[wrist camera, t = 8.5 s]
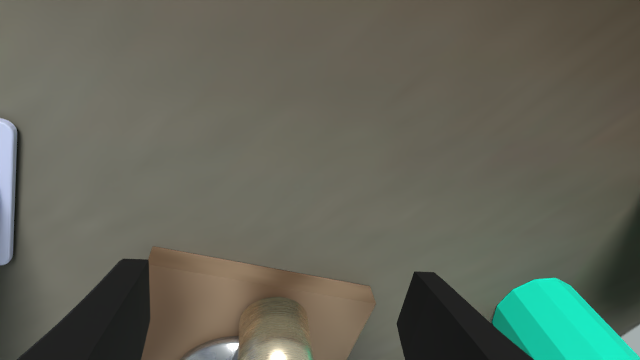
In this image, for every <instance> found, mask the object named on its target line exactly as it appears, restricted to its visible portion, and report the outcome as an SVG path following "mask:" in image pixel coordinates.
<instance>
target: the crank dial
mask: <svg viewBox="0 0 640 360" xmlns="http://www.w3.org/2000/svg"><path fill="white" fill-rule="evenodd" d="M180 360H314V358H313V351H312V344H311V337H310V330H309V323H308V316H307V313H306V310H305V309H304V308H303V307H302V305H300V304H299V303H298V302H296V301H294V300H292V299H289V298H284V297H269V298H264V299H261V300H258V301H256V302H254V303H253V304H251V305H250V306H248V307H247V308H246V309H245V311H244V312H243V313H242V315H241V318H240V322H239V336H230V337H223V338H218V339H214V340H211V341H208V342H205V343H203V344H201V345H198V346H197V347H195V348H193V349H191V350H190V351H189V352H187V353H186V354H185V355H184V356H183V357H182V358H181V359H180Z"/></svg>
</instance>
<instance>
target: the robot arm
mask: <svg viewBox="0 0 640 360" xmlns="http://www.w3.org/2000/svg"><path fill="white" fill-rule="evenodd" d="M16 153H17V129H16V127H15V126H14V124H12V123H11V122H10V121H8V120H5V119H1V118H0V265H5V264H7V263H8V262H9V261H10V260H11V259H12V257H13V238H14V210H15V182H16ZM149 323H150V286H149V260H141V259H122V260H121V261H119V262H118V263H117V264H116V265H115V266H114V268H113V269H112V270H111V271H110V272H109V273H108V274H107V275H106V276H105V277H104V278H103V279H102V280H101V281H100V283H99V284H98V285H97V286H96V287H95V288H94V289H93V290H92V291H91V292H90V293H89V294H88V295H87V296H86V297H85V298H84V299H83V300H82V301H81V302H80V303H79V304H78V305H77V306H76V307H75V308H74V309H73V310H71V311H70V312H69V313H68V314H67V315H66V316H65V317H64V318H63V319H62V320H61V321H60V322H59V323H58V324H57V325H56V326H55V327H53V328H52V329H51V330H50V331H49V332H48V333H47V334H46V335H44V336H43V337H42V338H41V339H40V340H39V341H38V342H36V343H35V344H34V345H33V346H32V347H31V348H30V349H29V350H27V351H26V352H25V353H24V354H23V355H22V356H20V357H19V358H18V359H17V360H141V358H142V353H143V349H144V345H145V341H146V337H147V332H148V328H149ZM397 327H398V332H399V336H400V341H401V345H402V349H403V353H404V357H405V360H534V359H533V358H532V357H530V356H529V355H528V354H527V353H525V352H524V351H523V350H522V349H520V348H519V347H518V346H517V345H516V344H514V343H513V342H512V341H511V340H509V339H508V338H507V337H506V336H505V335H504V334H502V333H501V332H500V331H499V330H498V329H497V328H496V327H494V326H493V325H492V324H491V323H490V322H489V321H488V320H487V319H485V318H484V317H483V316H482V315H481V314H480V313H479V312H478V311H477V310H475V309H474V308H473V307H472V306H471V305H470V304H469V303H468V302H467V301H466V300H465V299H463V298H462V297H461V296H460V295H459V294H458V293H457V292H456V291H455V290H454V289H453V288H451V287H450V286H449V285H448V284H447V283H446V282H445V281H444V280H443V279H441V278H440V277H439V276H438V275H437V274H435V273H434V272H414V274H413V277H412V280H411V283H410V286H409V289H408V292H407V295H406V298H405V300H404V303H403V306H402V309H401V312H400V315H399V318H398V321H397Z"/></svg>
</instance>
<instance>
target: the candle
mask: <svg viewBox="0 0 640 360" xmlns="http://www.w3.org/2000/svg"><path fill="white" fill-rule="evenodd" d="M492 323H493V325H494V327H496V328H497V329H498V330H499V331H500V332H501V333H502V334H504V335H505V336H506V337H507V338H508V339H509V340H511V341H512V342H513V343H514V344H516V345H517V346H518V347H519V348H520V349H522V350H523V351H524V352H525V353H527V354H528V355H529V356H530V357H532V358H533V359H534V360H640V357H639V356H638V355H637V354H636V353H635V352H634V351H633V350H632V349H631V348H630V347H629V346H628V345H627V344H626V343H625V342H624V341H623V340H622V339H621V337H620V336H619V335H618V334H617V333H616V332H615V331H614V330H613V329H612V328H611V327H610V326H609V325H608V324H607V323H606V322H605V321H604V320H603V319H602V318H601V317H600V316H599V315H598V314H597V313H596V312H595V310H594V309H593V308H592V307H591V306H590V305H589V304H588V303H587V302H586V301H585V300H584V299H583V298H582V297H581V296H580V295H579V294H578V293H577V292H576V291H575V290H574V289H573V288H572V287H571V286H570V285H569V284H567V283H565V282H563V281H561V280H559V279H557V278H546V279H534V280H532V281H530V282H528V283H526V284H523V285H521V286H519V287H517V288H515V289H513V290H512V291H511V292H510V293H509V294H508V295H507V296H506V297H505V298H504V299H503V300H502V301H501V302H500V303H499V304H498V305H497V307H496V311H495V314H494V317H493V320H492Z"/></svg>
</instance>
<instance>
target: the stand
mask: <svg viewBox="0 0 640 360" xmlns="http://www.w3.org/2000/svg"><path fill="white" fill-rule="evenodd" d="M148 260H149V286H150V323H149V328H148V332H147V337H146V341H145V345H144V349H143V353H142V358H141V360H180V359H181V358H182V357H183V356H184V355H185V354H186V353H187V352H189V351H190V350H191V349H193V348H195V347H197V346H198V345H201V344H203V343H205V342H208V341H211V340H214V339H218V338H223V337H230V336H239V322H240V318H241V315H242V313H243V312H244V311H245V309H246V308H247V307H248V306H250V305H251V304H253V303H254V302H256V301H258V300H261V299H264V298H269V297H284V298H289V299H292V300H294V301H296V302H298V303H299V304H300V305H302V307H303V308H304V309H305V310H306V313H307V316H308V323H309V330H310V337H311V344H312V351H313V358H314V360H347V358H348V356H349V354H350V352H351V350H352V348H353V346H354V344H355V343H356V341H357V339H358V337H359V335H360V333H361V331H362V329H363V327H364V326H365V324H366V322H367V320H368V318H369V316H370V314H371V312H372V311H373V309H374V307H375V305H376V302H375V300H374V297H373V294H372V291H371V288H370V286H365V285H360V284H355V283H349V282H344V281H338V280H333V279H328V278H322V277H317V276H311V275H306V274H300V273H295V272H290V271H284V270H279V269H273V268H268V267H262V266H257V265H252V264H246V263H241V262H235V261H230V260H225V259H219V258H214V257H208V256H203V255H197V254H192V253H187V252H181V251H176V250H170V249H165V248H160V247H154V246H153V247H152V250H151V253H150V256H149V258H148Z"/></svg>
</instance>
